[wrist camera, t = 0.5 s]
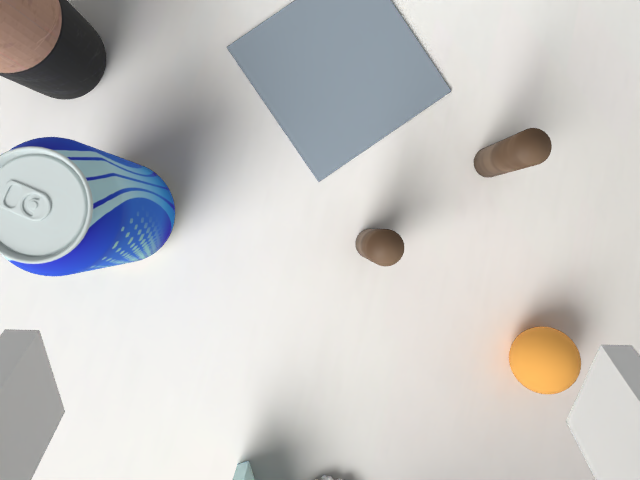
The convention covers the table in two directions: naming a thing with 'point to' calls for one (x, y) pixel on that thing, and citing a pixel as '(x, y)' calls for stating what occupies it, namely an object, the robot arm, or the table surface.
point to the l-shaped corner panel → (245, 476)
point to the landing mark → (338, 76)
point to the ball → (544, 360)
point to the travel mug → (49, 48)
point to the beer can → (78, 208)
